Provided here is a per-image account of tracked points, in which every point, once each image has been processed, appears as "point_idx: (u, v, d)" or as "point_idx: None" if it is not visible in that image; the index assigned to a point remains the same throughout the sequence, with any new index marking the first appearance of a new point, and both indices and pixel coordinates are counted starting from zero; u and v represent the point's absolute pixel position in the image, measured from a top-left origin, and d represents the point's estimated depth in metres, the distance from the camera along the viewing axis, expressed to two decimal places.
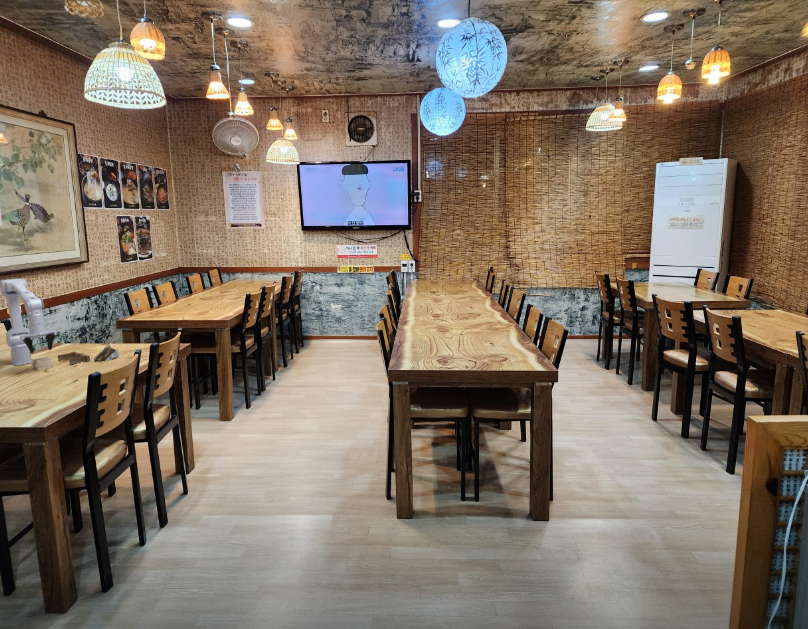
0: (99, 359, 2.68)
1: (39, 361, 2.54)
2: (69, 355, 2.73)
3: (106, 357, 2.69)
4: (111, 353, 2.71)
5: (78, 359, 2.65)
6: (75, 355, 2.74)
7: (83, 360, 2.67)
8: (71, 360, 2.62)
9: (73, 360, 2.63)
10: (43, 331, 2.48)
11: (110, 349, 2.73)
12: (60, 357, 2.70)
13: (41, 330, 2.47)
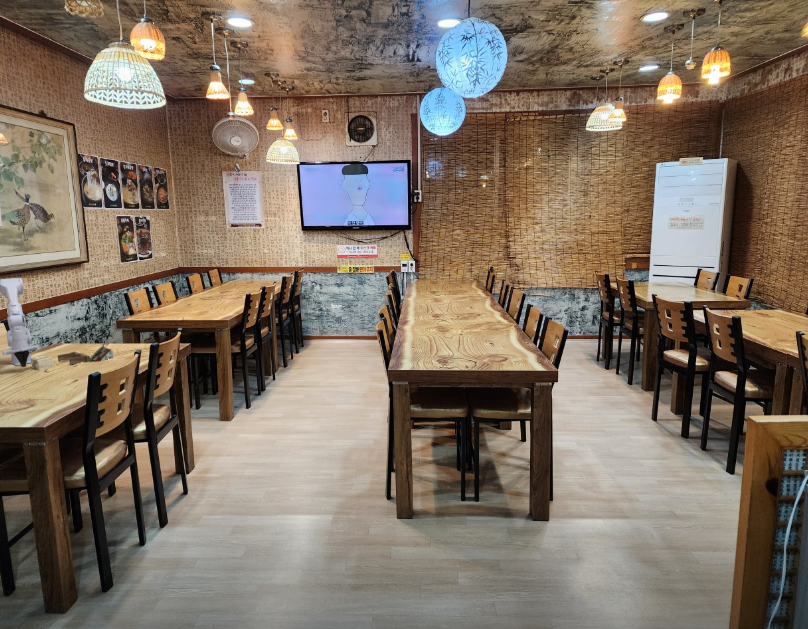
0: (95, 359, 2.68)
1: (39, 361, 2.54)
2: (69, 355, 2.73)
3: (102, 357, 2.70)
4: (106, 353, 2.72)
5: (78, 359, 2.65)
6: (75, 355, 2.74)
7: (83, 360, 2.67)
8: (71, 360, 2.62)
9: (73, 360, 2.63)
10: (25, 347, 2.50)
11: (105, 349, 2.74)
12: (60, 357, 2.70)
13: (23, 346, 2.49)
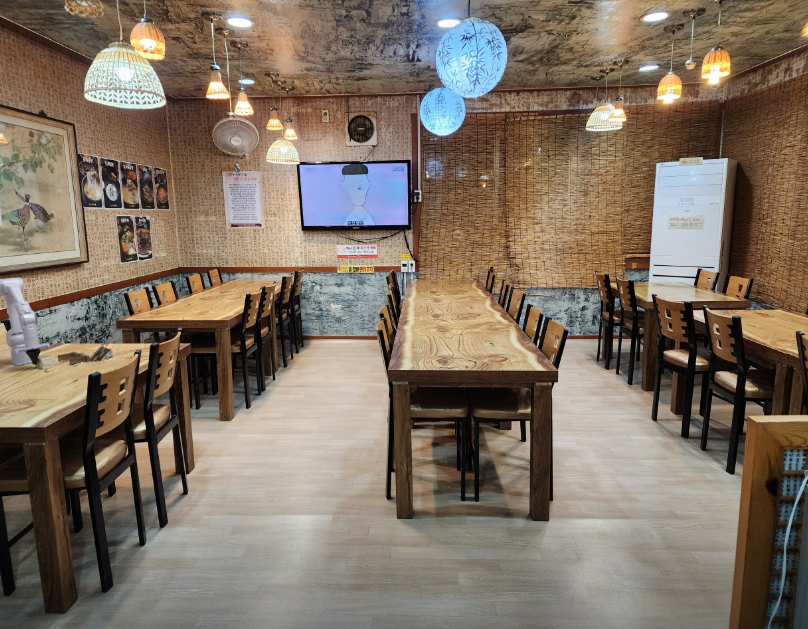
0: (95, 359, 2.69)
1: (43, 360, 2.55)
2: (69, 355, 2.73)
3: (102, 356, 2.70)
4: (106, 352, 2.73)
5: (78, 359, 2.65)
6: (75, 355, 2.74)
7: (83, 360, 2.67)
8: (71, 360, 2.62)
9: (73, 360, 2.63)
10: (37, 345, 2.53)
11: (104, 349, 2.74)
12: (60, 357, 2.70)
13: (35, 344, 2.52)
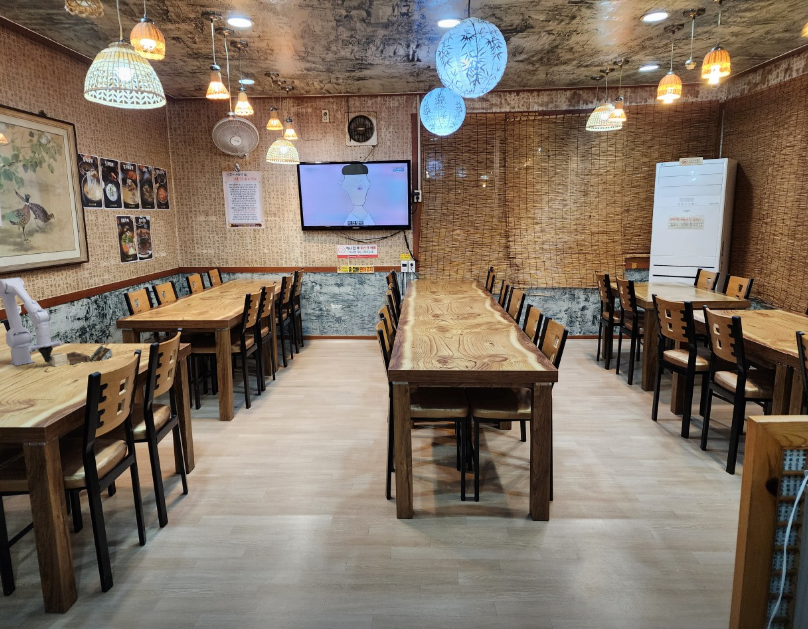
0: (95, 359, 2.69)
1: (56, 357, 2.60)
2: (69, 355, 2.73)
3: (102, 356, 2.71)
4: (106, 352, 2.73)
5: (78, 359, 2.65)
6: (75, 355, 2.74)
7: (83, 360, 2.67)
8: (71, 360, 2.62)
9: (73, 360, 2.63)
10: (49, 342, 2.58)
11: (104, 348, 2.75)
12: None
13: (47, 341, 2.57)
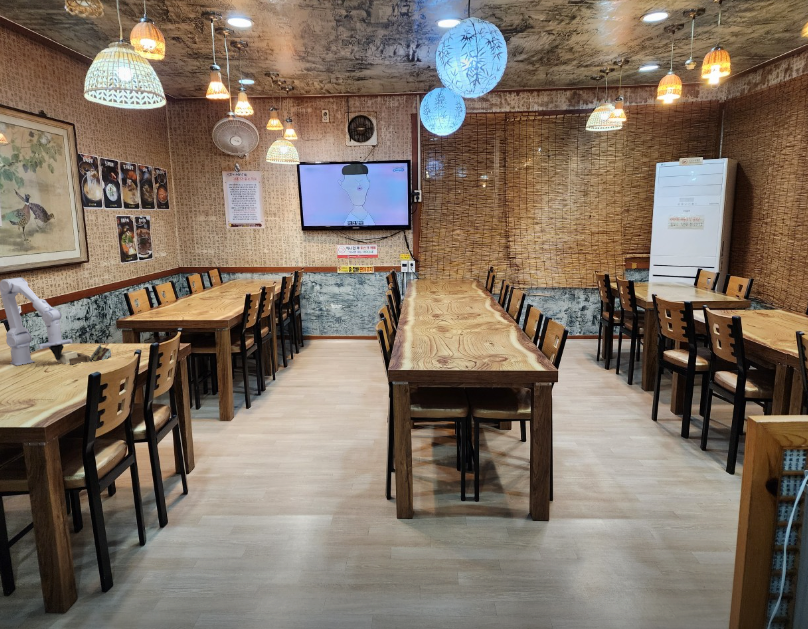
0: (95, 358, 2.69)
1: (66, 355, 2.64)
2: None
3: (101, 356, 2.71)
4: (105, 352, 2.74)
5: (78, 359, 2.65)
6: None
7: (83, 360, 2.67)
8: (71, 360, 2.62)
9: (73, 360, 2.63)
10: (60, 340, 2.62)
11: (102, 348, 2.75)
12: None
13: (58, 339, 2.61)
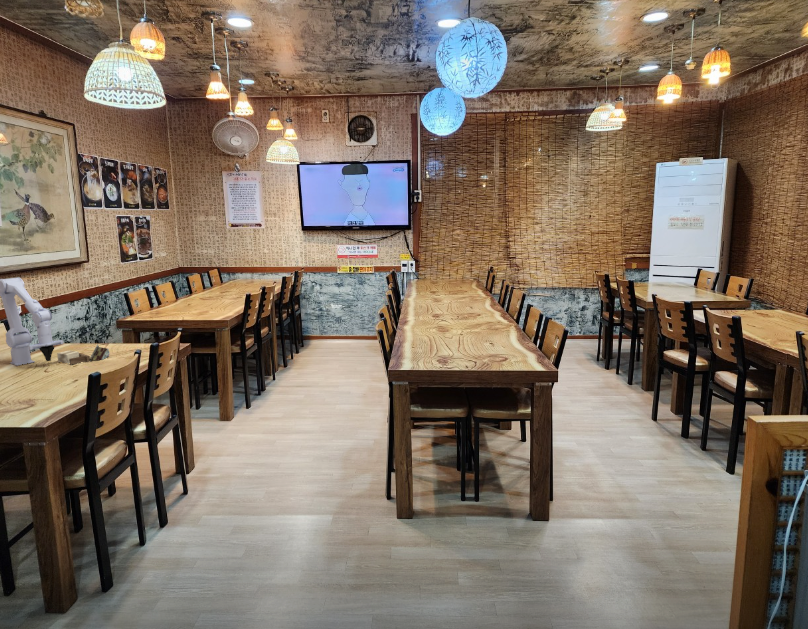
0: (94, 358, 2.69)
1: (68, 355, 2.65)
2: None
3: (101, 356, 2.72)
4: (104, 352, 2.74)
5: (78, 359, 2.65)
6: None
7: (83, 360, 2.67)
8: (71, 360, 2.62)
9: (73, 360, 2.63)
10: (50, 341, 2.58)
11: (100, 348, 2.75)
12: None
13: (48, 340, 2.57)
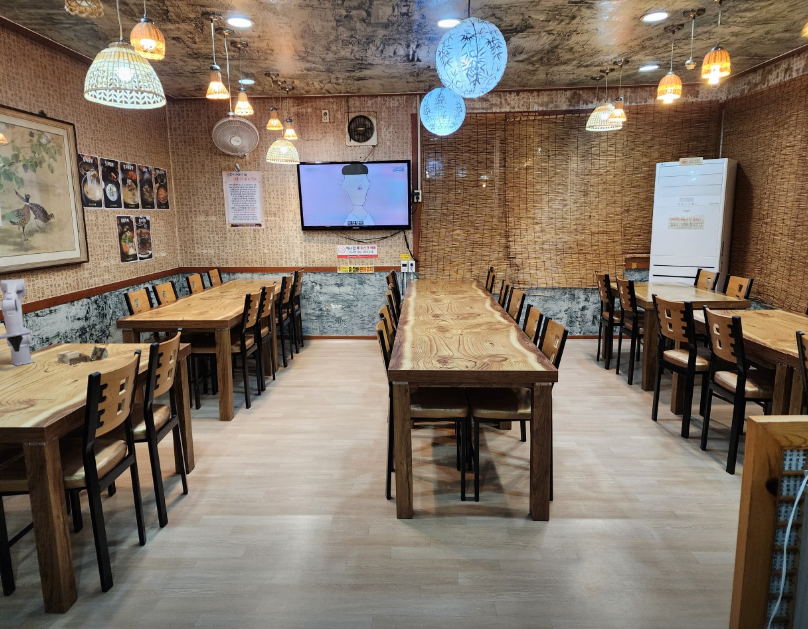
0: (94, 358, 2.70)
1: (69, 355, 2.65)
2: None
3: (100, 355, 2.72)
4: (103, 351, 2.75)
5: (78, 359, 2.65)
6: None
7: (83, 360, 2.67)
8: (71, 360, 2.62)
9: (73, 360, 2.63)
10: (19, 331, 2.51)
11: (99, 348, 2.76)
12: None
13: (17, 330, 2.50)
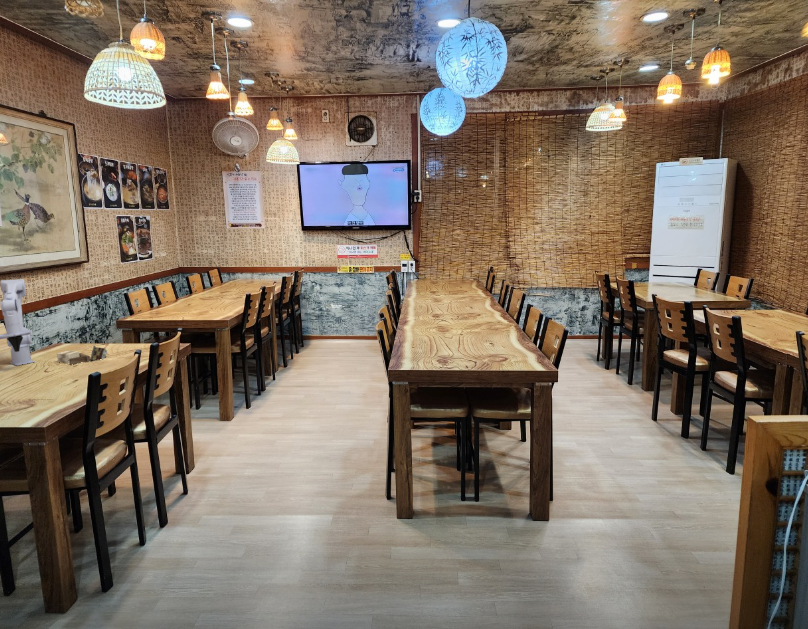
0: (94, 358, 2.70)
1: (69, 355, 2.65)
2: None
3: (100, 355, 2.73)
4: (102, 351, 2.75)
5: (78, 359, 2.65)
6: None
7: (83, 360, 2.67)
8: (71, 360, 2.62)
9: (73, 360, 2.63)
10: (19, 331, 2.51)
11: (98, 348, 2.76)
12: None
13: (17, 330, 2.50)
